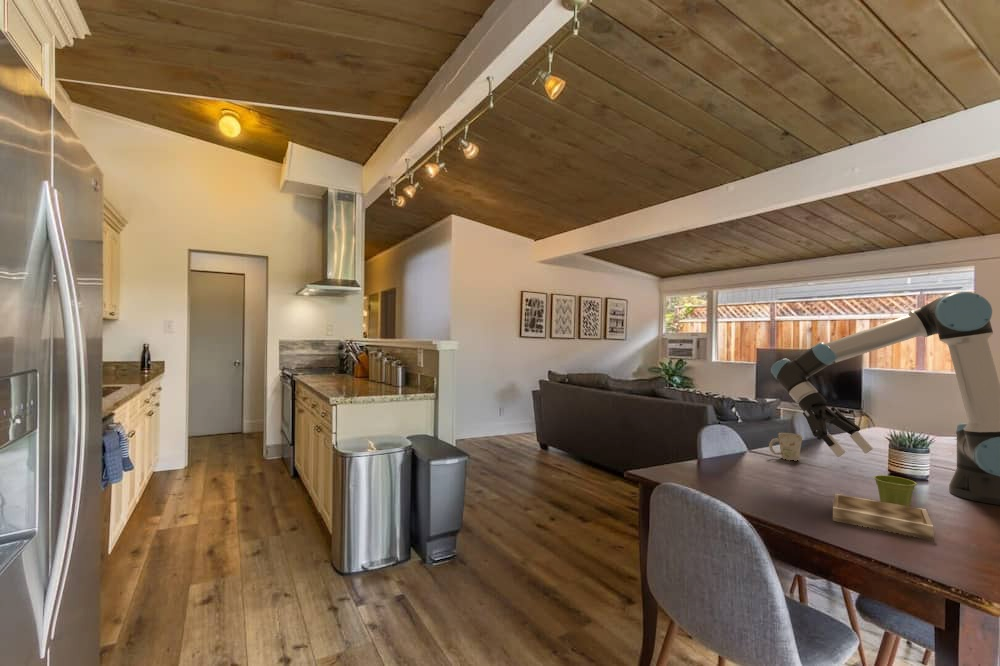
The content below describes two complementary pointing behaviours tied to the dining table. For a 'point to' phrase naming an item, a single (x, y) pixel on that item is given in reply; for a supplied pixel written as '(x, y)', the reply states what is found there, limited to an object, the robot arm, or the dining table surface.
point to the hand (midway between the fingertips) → (855, 452)
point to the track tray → (883, 516)
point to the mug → (788, 446)
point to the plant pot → (895, 489)
